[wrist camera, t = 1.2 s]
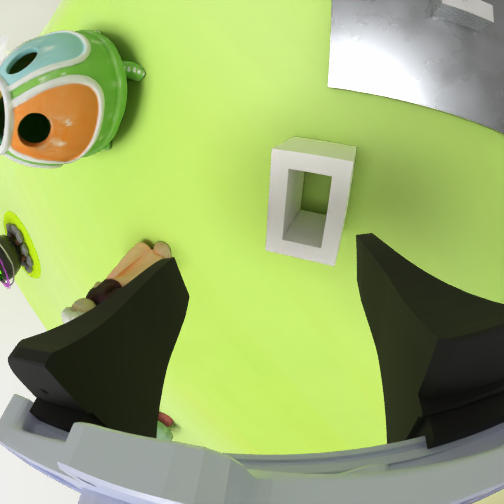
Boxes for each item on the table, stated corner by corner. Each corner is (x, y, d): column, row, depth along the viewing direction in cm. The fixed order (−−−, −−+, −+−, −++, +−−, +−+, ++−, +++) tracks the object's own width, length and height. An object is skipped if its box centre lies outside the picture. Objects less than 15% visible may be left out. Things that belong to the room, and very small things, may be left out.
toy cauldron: (49, 287, 47) (10, 320, 39) (17, 266, 51) (-16, 292, 43) (27, 217, 39) (-22, 248, 31) (-2, 206, 44) (-41, 230, 35)
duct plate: (536, -14, 5) (558, -26, 2) (536, 149, 12) (563, 163, 9) (332, -76, 9) (322, -103, 6) (329, 87, 17) (320, 84, 14)
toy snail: (155, 405, 54) (120, 453, 43) (183, 426, 54) (152, 475, 43) (129, 417, 69) (103, 451, 58) (150, 433, 69) (126, 468, 58)
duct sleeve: (293, 136, 19) (271, 148, 15) (356, 146, 18) (353, 161, 14) (286, 219, 23) (265, 250, 19) (343, 231, 22) (334, 266, 18)
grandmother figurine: (166, 228, 28) (69, 307, 18) (186, 262, 29) (100, 349, 19) (124, 247, 32) (41, 314, 22) (141, 276, 33) (65, 347, 23)
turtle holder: (62, 14, 19) (-28, 23, 10) (168, 54, 19) (38, 58, 10) (38, 105, 27) (-41, 131, 17) (123, 172, 27) (23, 223, 17)
